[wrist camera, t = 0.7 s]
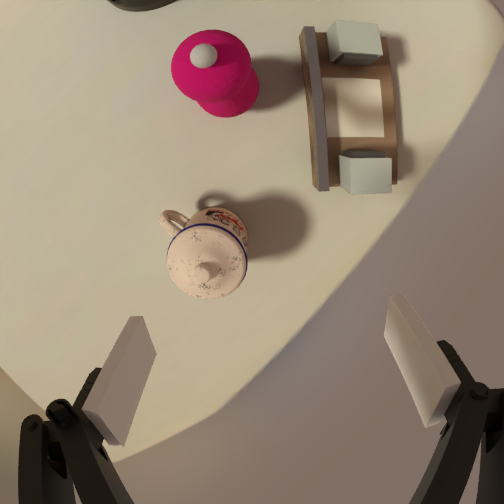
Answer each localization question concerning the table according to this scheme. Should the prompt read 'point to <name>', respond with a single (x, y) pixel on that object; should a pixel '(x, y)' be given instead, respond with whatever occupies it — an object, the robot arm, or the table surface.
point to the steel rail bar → (316, 108)
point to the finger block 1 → (354, 43)
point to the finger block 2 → (365, 172)
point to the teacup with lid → (206, 251)
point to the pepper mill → (216, 73)
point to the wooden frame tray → (354, 108)
